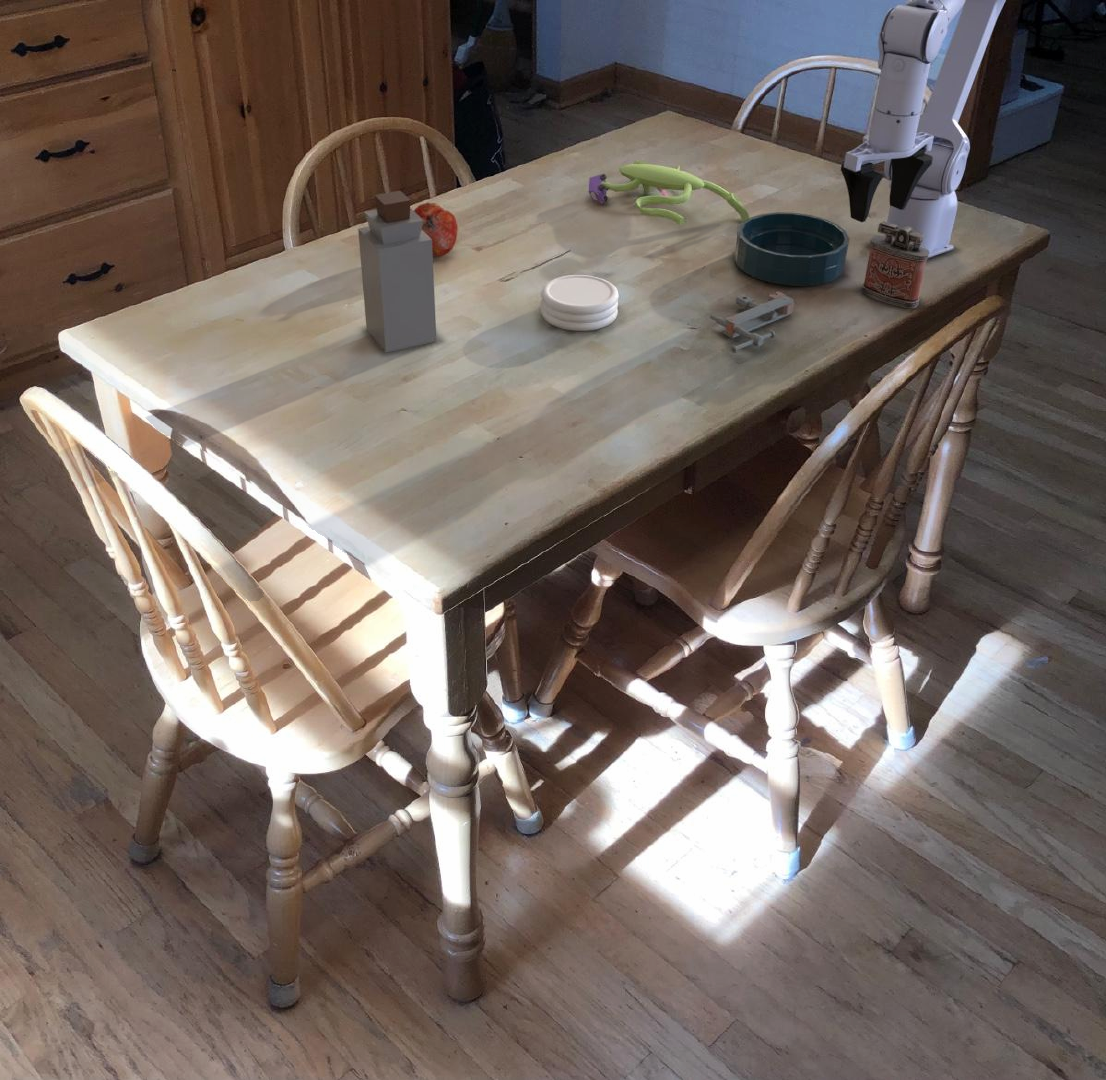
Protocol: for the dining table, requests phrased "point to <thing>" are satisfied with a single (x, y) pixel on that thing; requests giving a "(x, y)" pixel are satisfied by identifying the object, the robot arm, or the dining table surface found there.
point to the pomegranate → (438, 227)
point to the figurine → (660, 188)
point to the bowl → (791, 248)
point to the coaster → (579, 302)
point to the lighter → (895, 266)
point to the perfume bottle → (397, 274)
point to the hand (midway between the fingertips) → (877, 213)
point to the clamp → (768, 311)
